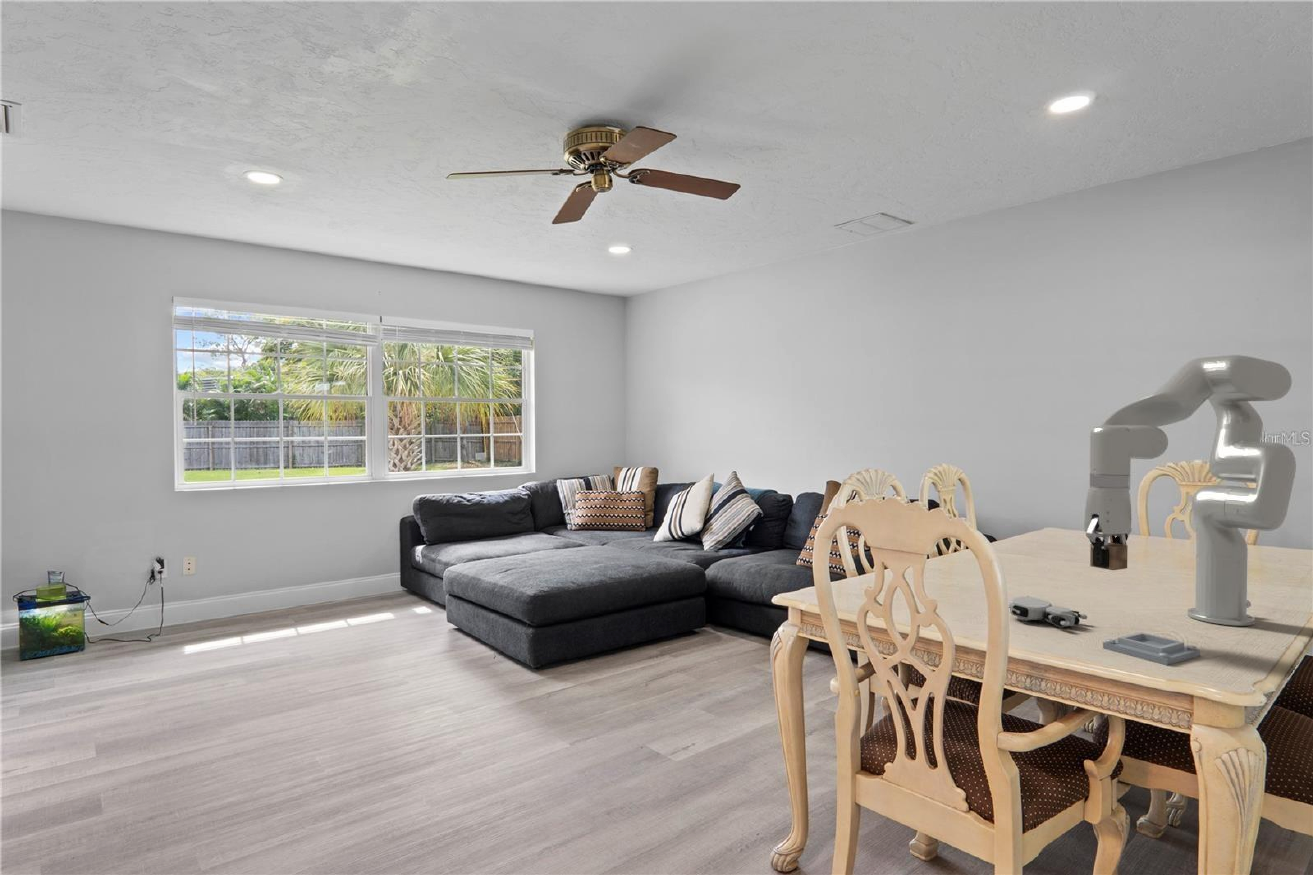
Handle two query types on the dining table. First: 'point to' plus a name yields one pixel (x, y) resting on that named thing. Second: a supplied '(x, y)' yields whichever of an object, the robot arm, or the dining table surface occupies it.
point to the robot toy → (1043, 612)
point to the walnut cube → (1114, 556)
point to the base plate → (1152, 648)
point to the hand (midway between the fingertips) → (1108, 564)
